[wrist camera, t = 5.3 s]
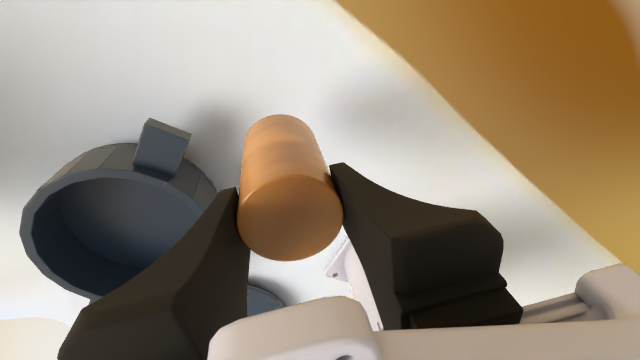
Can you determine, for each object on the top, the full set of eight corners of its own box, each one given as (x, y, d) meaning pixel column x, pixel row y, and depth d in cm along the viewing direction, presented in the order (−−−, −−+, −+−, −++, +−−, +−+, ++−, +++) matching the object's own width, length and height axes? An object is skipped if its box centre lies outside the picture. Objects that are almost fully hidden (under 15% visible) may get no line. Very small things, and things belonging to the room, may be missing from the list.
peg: (329, 132, 17) (363, 198, 12) (296, 189, 19) (313, 271, 13) (261, 101, 16) (263, 158, 10) (232, 165, 17) (220, 247, 12)
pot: (259, 147, 22) (260, 172, 19) (186, 300, 28) (177, 338, 25) (78, 74, 18) (40, 91, 15) (38, 272, 24) (5, 313, 21)
